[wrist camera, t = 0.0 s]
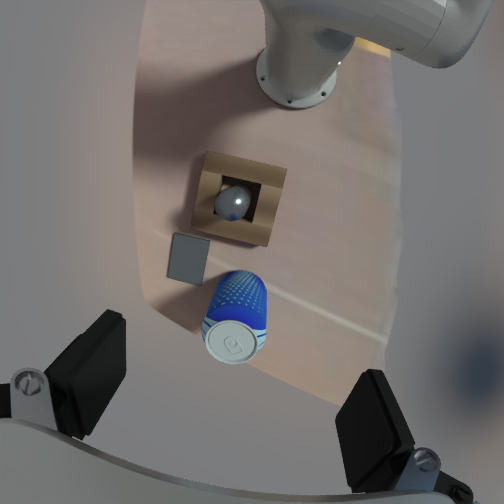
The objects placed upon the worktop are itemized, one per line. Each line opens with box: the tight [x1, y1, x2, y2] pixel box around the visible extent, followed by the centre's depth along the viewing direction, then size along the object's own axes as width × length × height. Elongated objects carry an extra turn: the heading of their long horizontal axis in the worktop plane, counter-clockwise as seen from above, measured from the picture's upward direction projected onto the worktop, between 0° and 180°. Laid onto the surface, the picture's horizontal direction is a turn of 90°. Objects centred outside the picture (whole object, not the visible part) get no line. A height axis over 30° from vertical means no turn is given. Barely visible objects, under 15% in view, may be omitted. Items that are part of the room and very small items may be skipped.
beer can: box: [201, 270, 267, 364], centre depth 41 cm, size 8×8×16 cm
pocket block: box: [190, 151, 287, 247], centre depth 43 cm, size 12×12×3 cm
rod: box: [215, 184, 252, 221], centre depth 40 cm, size 4×4×10 cm
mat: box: [168, 233, 210, 286], centre depth 48 cm, size 8×6×1 cm
